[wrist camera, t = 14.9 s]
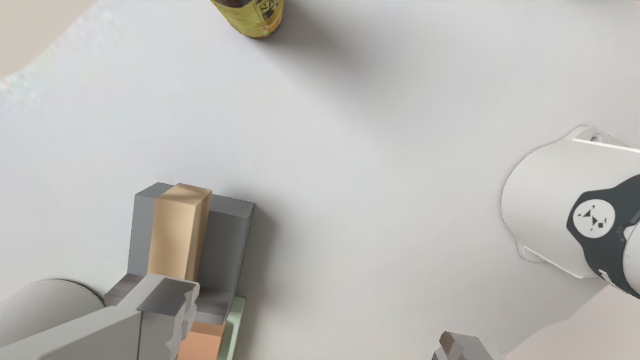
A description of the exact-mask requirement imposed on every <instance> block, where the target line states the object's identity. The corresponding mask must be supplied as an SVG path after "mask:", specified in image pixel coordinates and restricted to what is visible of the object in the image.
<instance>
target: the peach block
mask: <svg viewBox="0 0 640 360" xmlns="http://www.w3.org/2000/svg"><path fill="white" fill-rule="evenodd" d="M226 323H227V321H226V322H223V323H222V325H217V324H211V323H205V322H200V321H194V322H193V324H192V327H191V330H190V332H189V334H188V336H187V338H186V339H185V340H183V341H181V342H180V348H179V352H178V357H177V360H218V357H219V354H220V351H221V347H222V342H223V338H224V333H225V328H226Z"/></svg>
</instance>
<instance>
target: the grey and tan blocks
mask: <svg viewBox="0 0 640 360" xmlns="http://www.w3.org/2000/svg"><path fill="white" fill-rule="evenodd" d="M211 196H212V190H209V189H204V188H200V187H195V186H191V185H186V184H182V183H178V184H177V185H175V186H174V187H172V188H171V189H169V190H168V191H166V192H164V193H163V194H161V195H160V196H158V197H157V198H156V204H155V212H154V220H153V229H152V237H151V245H150V253H149V262H148V270H147V275H148V274H150V273H155V274H160V275H165V276H170V277H174V278H179V279H184V280H188V281H193V282H197V279H198V273H199V267H200V261H201V255H202V249H203V243H204V237H205V231H206V225H207V220H208V214H209V208H210V202H211ZM144 277H145V276H141V275H136V274H130V273H127V274H126V275H125V276H124V277H123V278H122V279H121V280H120V281H119V282H118V283H117V284H116V285H115V286H114V287H113V288H112V289H111V290H110V291H109V292H108V293H107V294H105V299H104V305H106V306H117V305H118V304H119V303H120V302H121V301H122V300H123V299H124V298H125V297H126V296H127V295H128V294H129V293H130V292H131V291H132V290H133V289H134V288H135V287H136V286H137V285H138V284H139V283H140V281H141V280H142V279H143V278H144ZM232 293H233V292H228V291H223V290H217V289H212V288H206V287H201V286H200V289H199V295H198V297H197V298H196V300H195V304H196V306H197V309H196V315H195V318H194V321H200V322H205V323H211V324H217V325H222V323H223V321H224V318H225V315H226V313H227V310H228V307H229V305H230V302H231V298H232Z"/></svg>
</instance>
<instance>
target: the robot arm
mask: <svg viewBox="0 0 640 360" xmlns="http://www.w3.org/2000/svg"><path fill="white" fill-rule="evenodd" d="M591 139H592V141H591ZM501 211H502V217H503V220H504V223H505V225H506V227H507V228H508V230H509V231H510V232H511V234H512V235H513V236H514V238H515V239H516V241H517V247H518V252H519V254H520V256H521V257H522V258H524V259H525V260H527V261H530V262H550V263H552V264H554V265H555V266H557V267H559V268H561V269H562V270H564V271H566V272H568V273H569V274H571V275H573V276H575V277H577V278H580V279H583V278H602V279H604V280H606V281H607V282H609V284H611V285H612V286H614V287H616V288H617V289H619V290H621V291H623V292H625V293H627V294H631V295H632V296H634V297H636V298H638V299H640V150H639V149H634V148H630V147H628V146H626V145H625V144H623V143H621V142H619V141H617V140H616V139H614V138H612V137H610V136H609V135H607V134H605V133H603V132H601V131H600V130H598V129H596V128H594V127H591V126H586V125H582V126H579V127H577V128H576V129H574V130H573V131H572V132H570V133H569V134H568V135H567V136H565V137H564V138H563V139H561V140H559V141H557V142H555V143H552V144H549V145H546V146H543V147H541V148H539V149H537V150H536V151H534V152H532V153H531V154H529V155H528V156H527V157H526V158H524V159H523V160H522V161H521V162H520V163H519V164H518V165H517V167H516V168H515V169H514V170H513V172H512V173H511V175H510V176H509V178H508V180H507V182H506V185H505V187H504V190H503V194H502V200H501ZM199 289H200V284H199V283H197V282H193V281H188V280H184V279H179V278H174V277H170V276H165V275H160V274H155V273H150V274H148V275H146V276H145V277H144V278H143V279H142V280H141V281H140V283H139V284H138V285H137V286H136V287H135V288H134V289H133V290H132V291H131V292H130V293H129V294H128V295H127V296H126V297H125V298H124V299H123V300H122V301H121V302H120V303H119V304H118V305H117V306H108V307H106V308H103V309H100V310H98V311H95V312H93V313H90V314H87V315H85V316H82V317H80V318H77V319H75V320H72V321H69V322H67V323H64V324H62V325H59V326H56V327H54V328H51V329H49V330H46V331H43V332H41V333H38V334H36V335H33V336H30V337H28V338H25V339H23V340H20V341H17V342H15V343H12V344H10V345H7V346H4V347H2V348H0V360H174V359H175V358H176V356H177V354H178V352H179V348H180V342H181V341H183V340H185V339H186V338H187V336H188V334H189V332H190V330H191V327H192V324H193V322H194V318H195V315H196V309H197V306H196V304H195V300H196V298H197V297H198V295H199ZM439 342H440V344H441V347H440V348H439V349H438V350H436V351H435V352H434V355H433V358H432V360H506V358H505V357H504V356H503V354H502V353H501V351H500V350H499V349H498V347H497V346H496V345H495V343H494V342H493V341H491V340H490V339H489V338H482V337H476V336H468V335H463V334H457V333H452V332H447V331H445V332H444V333H443V334H442V335H441V338H440V340H439Z"/></svg>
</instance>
